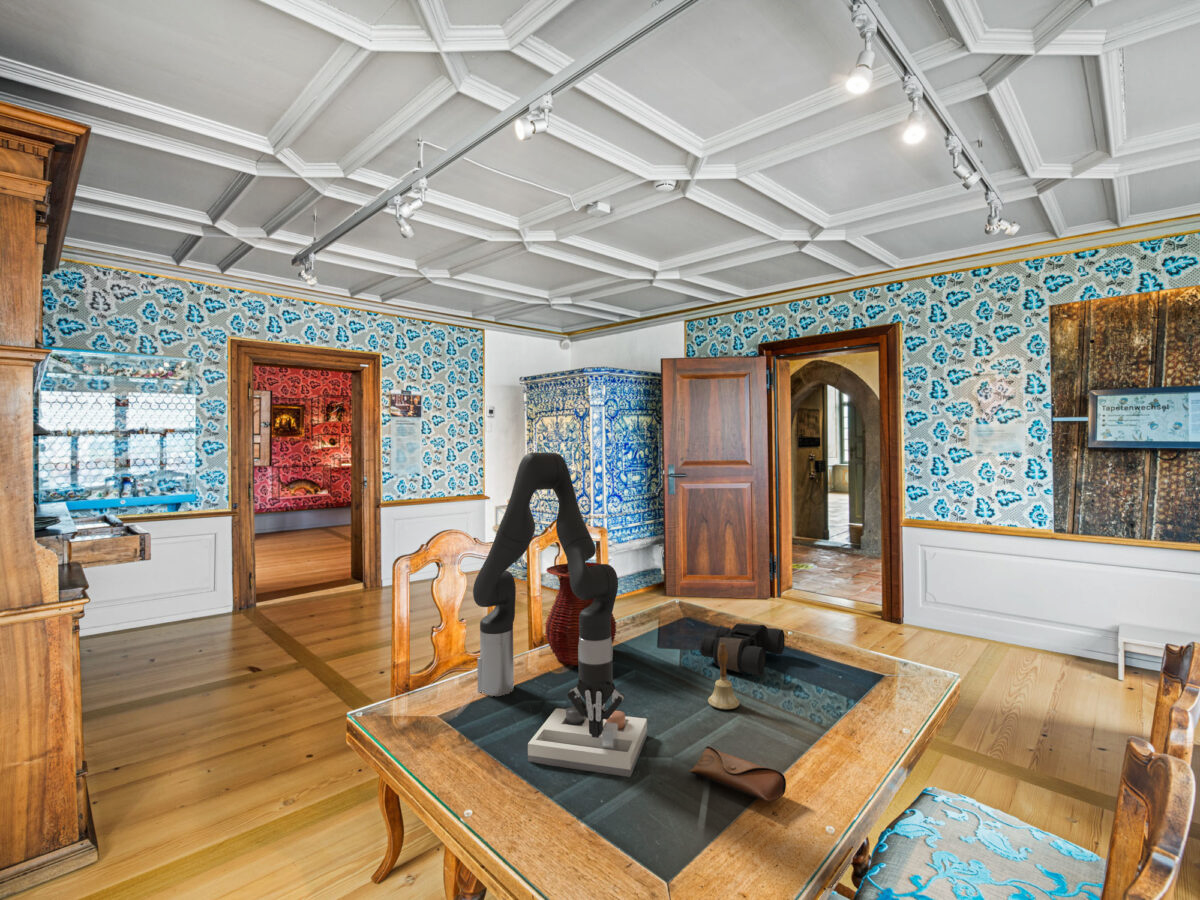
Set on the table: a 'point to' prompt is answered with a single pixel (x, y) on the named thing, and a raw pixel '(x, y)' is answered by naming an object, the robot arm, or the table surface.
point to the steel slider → (610, 736)
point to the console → (587, 745)
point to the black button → (573, 716)
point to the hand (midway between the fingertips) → (596, 735)
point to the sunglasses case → (740, 775)
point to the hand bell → (723, 685)
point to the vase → (567, 618)
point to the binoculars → (744, 646)
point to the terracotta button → (617, 719)
